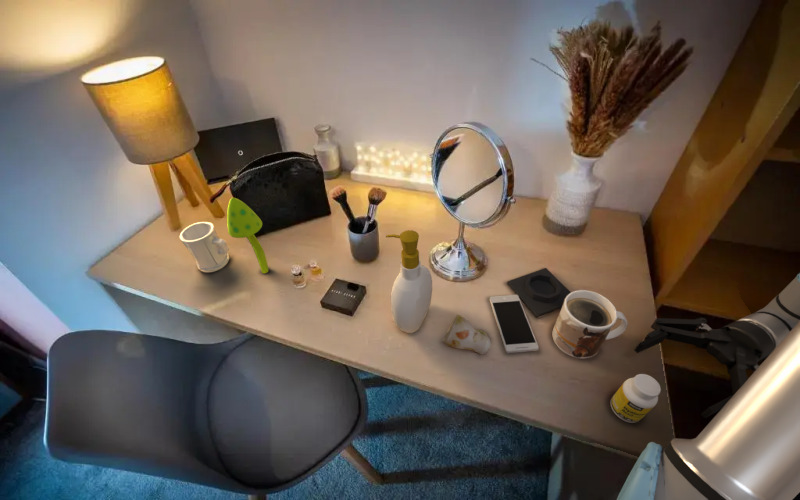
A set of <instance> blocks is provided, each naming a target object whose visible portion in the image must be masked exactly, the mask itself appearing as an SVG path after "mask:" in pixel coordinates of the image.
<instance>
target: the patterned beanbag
mask: <svg viewBox="0 0 800 500" xmlns="http://www.w3.org/2000/svg"><path fill="white" fill-rule="evenodd" d="M443 343H444V344H446V345H447V346H448V347H451V348H454V349H460V350H469V351H472V352H475V353H477V354H479V355H485V354H487V353H488V351H490V348H491V345H492V343H491V339H490V337H489V336H488V334H487V333H486V332H485V331H483V330H481V329H479V328H476V327H475V326H474V325H473V323H472V322H471V321H470V320H469V319H467V318H466V317H465V316H462V315H459V314H456V316H455V318H454V319H453V321H452V323H451V324H450V326H449V328H448V330H447V332H446V335H445V337H444V339H443Z"/></svg>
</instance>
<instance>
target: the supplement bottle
mask: <svg viewBox="0 0 800 500" xmlns="http://www.w3.org/2000/svg"><path fill="white" fill-rule="evenodd" d="M661 391H662V389H661V385H660V383H659V382H658V381H657V380H656V379H655V378H654V377H653V376H651V375H649V374H646V373H639V374H636V375H635V376H634V377H630V378H627V379H626V380H625V381H624V382H623V383H622V384H621V386H619V388H618V389H617V391H616V392H615V393H614V394H613V396H612V397H611V399H610V407H611V408H610V409H611V410H612V412H613V413H614V414H615V416H616V417H618V418H619V419H620V420H622V421H624V422H626V423H631V424H633V423H634V424H635V423H638V422H639V421H641V420H642V419H643V418H644V417H645V416H646V415H648V413H649V412H651V410H652V409H653V408H654V407H655V406H656V405H657V404H658V402H659V395H660V394H661Z"/></svg>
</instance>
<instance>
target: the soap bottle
mask: <svg viewBox="0 0 800 500" xmlns="http://www.w3.org/2000/svg"><path fill="white" fill-rule="evenodd" d="M419 237H420V235H419V233H418V232H417V231H416V230H413V229H411V230H410V229H407V230H404V231H402V232H401V233H400V234H395V233H394V234H386V235H385V238H395V239H399V240H400V245H401V248H402V249H401V253H400V256H401V261H400V271H399V273H398V274H397V276H396V278H395V280H394V281H393V284H392V287H391V291H390V293H391V294H390V311H391V315H392V319H393V321H394V324H395V325H396V327H398V329H399V330H400V331H402V332H404V333H408V334H412V333H413V334H414V333H415V332H417V331H418V330H419V329H420V327H421V326H422V325H423V323H424V321H425V318H426V316H427V314H428V311H429V309H430V307H431V302H432V295H433V279H432V274H431V271H430V270H429V268H428V267H426V266H425V265H422V264H421V260H420V252H419V249H418V243H419V239H420V238H419Z"/></svg>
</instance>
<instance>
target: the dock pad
mask: <svg viewBox="0 0 800 500" xmlns="http://www.w3.org/2000/svg"><path fill="white" fill-rule="evenodd" d="M506 285H507V286H508V287H509V288H510V289H511V290H512V291H513V293H514V295H518V296H519V299H520V301H521V303H523V304H524V306H525V307H526V308H527V309H528V311H529V312H530V313H531V314H532V315H533V316H534V317H535V318H536V319H538V318H540V317H543V316H545V315H548V314H550V313H553V312H555V311H558V310H561V308H562V305H563V303H564V300H565V298H566V297H567V295H569V294H570V293H572V292H571V290H569V289H568V288H567V287H566V285H564V284H563V283H562V282H561V281H560V280H559V279H558V277H556V276H555V275H554V274H553V273H552V272H551V271H550V270H549V269H548V268H547V267H544V268H541V269H539V270H536V271H533V272H530V273H527V274H525V275H522V276H519V277H515V278H513V279H510V280H508V281H507V282H506Z"/></svg>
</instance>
